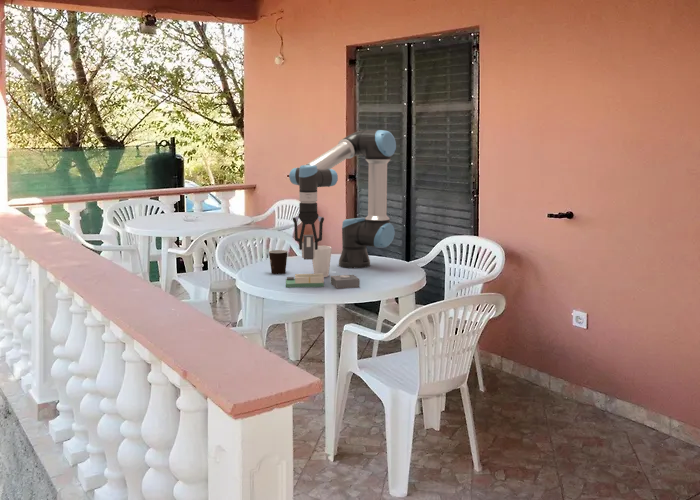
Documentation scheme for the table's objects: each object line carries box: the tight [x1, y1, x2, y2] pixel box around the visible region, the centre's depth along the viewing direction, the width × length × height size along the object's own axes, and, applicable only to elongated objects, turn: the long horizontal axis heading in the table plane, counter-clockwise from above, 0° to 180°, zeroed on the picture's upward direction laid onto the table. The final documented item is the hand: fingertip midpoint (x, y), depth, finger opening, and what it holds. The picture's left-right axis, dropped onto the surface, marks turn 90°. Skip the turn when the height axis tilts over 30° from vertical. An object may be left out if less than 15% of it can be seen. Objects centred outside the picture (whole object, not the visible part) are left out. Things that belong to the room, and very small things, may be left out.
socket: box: [294, 273, 325, 284], centre depth 321 cm, size 12×8×2 cm, turn 95°
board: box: [285, 276, 325, 288], centre depth 323 cm, size 16×11×2 cm
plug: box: [303, 234, 314, 261], centre depth 319 cm, size 4×5×10 cm
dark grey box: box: [330, 274, 360, 290], centre depth 320 cm, size 10×10×4 cm
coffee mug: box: [268, 249, 288, 275], centre depth 349 cm, size 12×9×10 cm
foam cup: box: [311, 245, 333, 278], centre depth 340 cm, size 10×9×13 cm
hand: (308, 257), depth 320 cm, fingers closed on plug, 4 cm apart
